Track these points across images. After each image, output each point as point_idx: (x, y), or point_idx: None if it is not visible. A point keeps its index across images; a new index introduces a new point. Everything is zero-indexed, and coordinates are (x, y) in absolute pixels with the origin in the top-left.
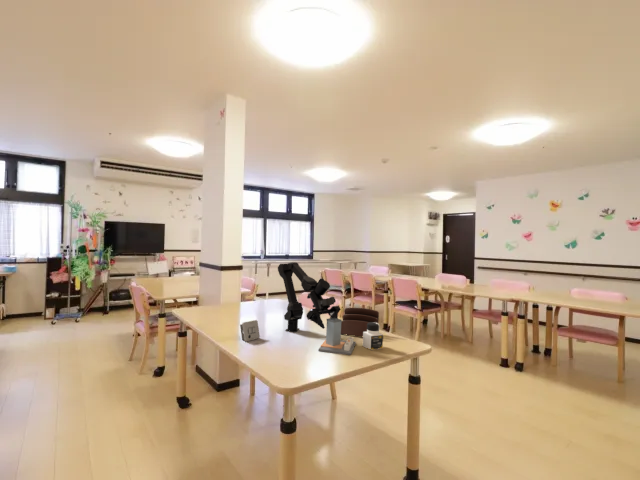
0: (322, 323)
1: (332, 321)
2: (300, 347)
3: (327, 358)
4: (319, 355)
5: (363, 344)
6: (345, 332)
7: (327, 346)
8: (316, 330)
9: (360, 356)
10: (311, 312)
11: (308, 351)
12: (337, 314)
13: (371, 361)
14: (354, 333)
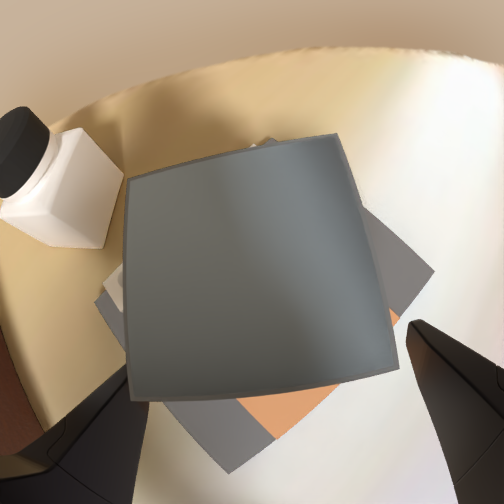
0: (454, 351)
1: (347, 175)
2: None
3: (419, 155)
4: (447, 207)
5: (100, 233)
6: None
7: None
8: None
9: (236, 120)
10: None
11: (481, 294)
12: (12, 455)
13: (236, 73)
14: (25, 418)
